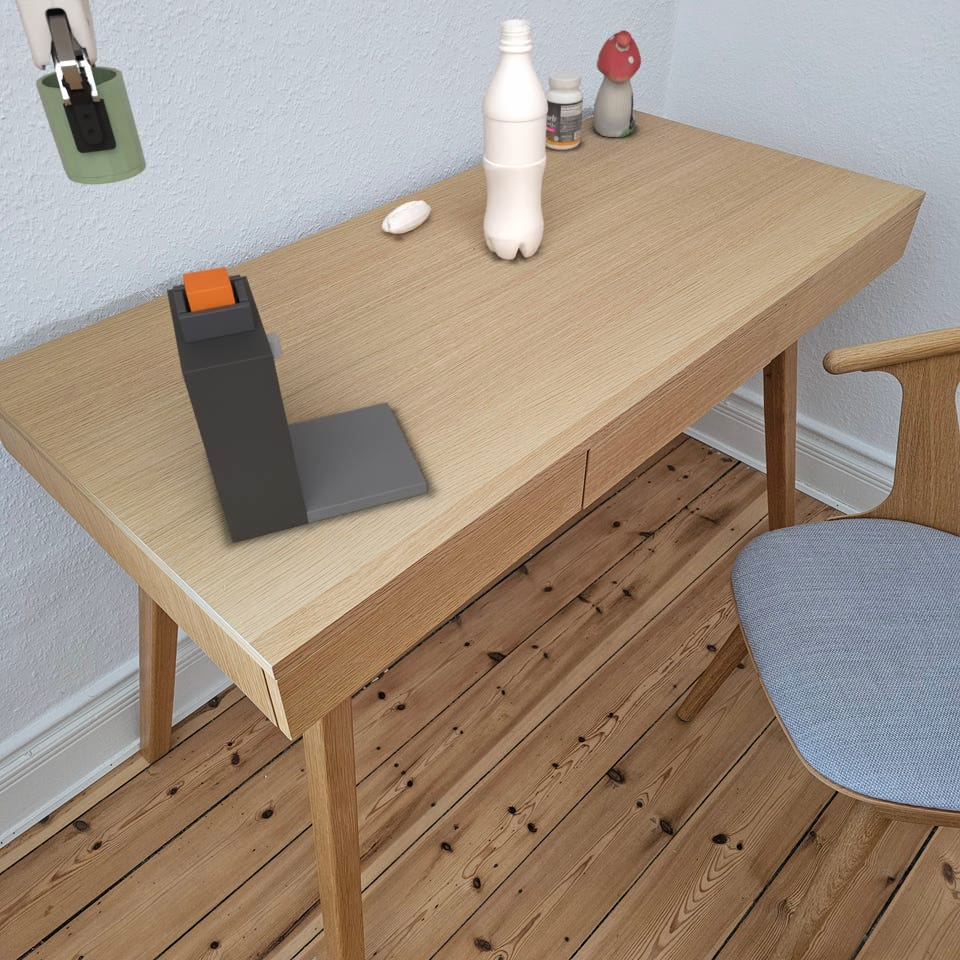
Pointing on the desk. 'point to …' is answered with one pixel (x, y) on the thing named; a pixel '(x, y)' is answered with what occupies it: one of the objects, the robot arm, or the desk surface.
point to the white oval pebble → (406, 217)
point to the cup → (128, 146)
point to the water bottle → (514, 147)
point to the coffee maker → (279, 428)
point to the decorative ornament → (616, 86)
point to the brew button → (208, 289)
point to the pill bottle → (564, 110)
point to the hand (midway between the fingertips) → (96, 134)
